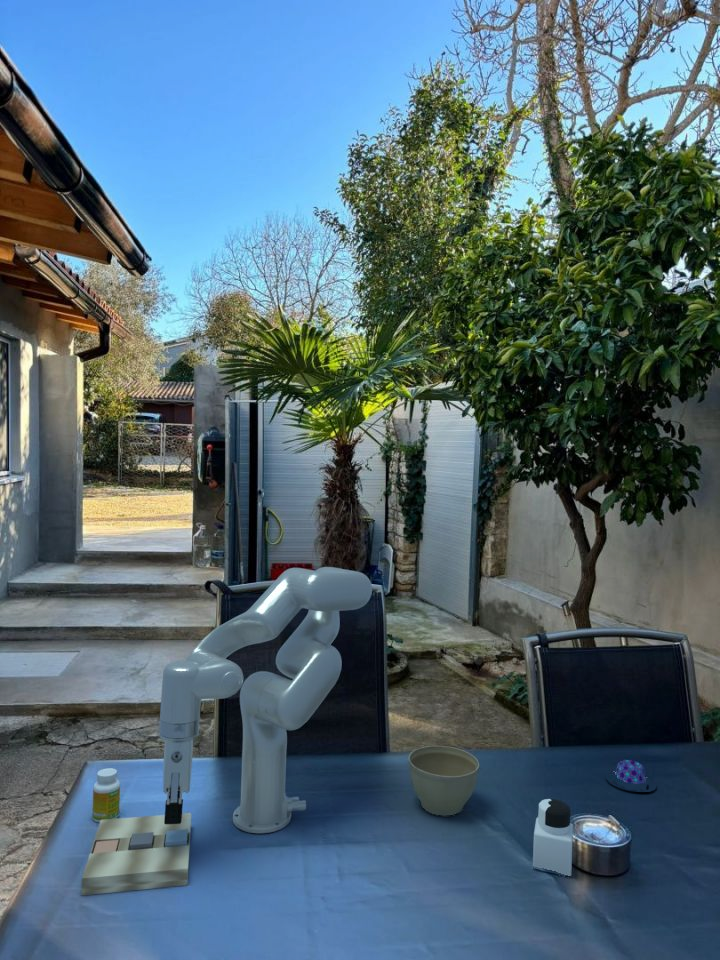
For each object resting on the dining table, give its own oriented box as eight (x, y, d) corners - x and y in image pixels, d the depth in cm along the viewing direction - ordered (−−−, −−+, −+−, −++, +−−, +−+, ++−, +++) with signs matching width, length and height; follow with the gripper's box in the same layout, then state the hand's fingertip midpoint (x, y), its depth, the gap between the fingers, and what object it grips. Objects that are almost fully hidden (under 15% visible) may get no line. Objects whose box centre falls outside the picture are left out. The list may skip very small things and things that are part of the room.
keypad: (190, 827, 138) (191, 812, 138) (187, 885, 119) (188, 868, 119) (100, 834, 134) (100, 819, 134) (81, 895, 115) (81, 878, 115)
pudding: (663, 798, 159) (663, 776, 159) (611, 793, 161) (612, 772, 161) (647, 776, 171) (648, 756, 171) (600, 772, 173) (600, 752, 173)
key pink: (118, 847, 127) (118, 839, 127) (115, 859, 123) (115, 851, 123) (96, 849, 126) (96, 841, 126) (92, 861, 122) (93, 853, 122)
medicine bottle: (571, 858, 131) (573, 799, 131) (571, 878, 125) (573, 815, 125) (535, 850, 134) (537, 792, 134) (532, 870, 127) (534, 808, 127)
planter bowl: (397, 815, 146) (399, 766, 146) (418, 785, 161) (420, 740, 161) (468, 832, 140) (470, 781, 140) (483, 799, 155) (485, 753, 155)
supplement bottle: (109, 825, 138) (111, 779, 138) (86, 821, 139) (88, 775, 139) (123, 812, 143) (125, 768, 143) (101, 809, 144) (103, 765, 144)
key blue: (187, 836, 130) (187, 829, 130) (186, 848, 126) (186, 840, 126) (166, 838, 129) (166, 831, 129) (165, 849, 125) (165, 842, 125)
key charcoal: (153, 839, 129) (153, 832, 129) (151, 851, 125) (151, 843, 125) (131, 841, 128) (132, 833, 128) (129, 853, 124) (129, 845, 124)
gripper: (198, 741, 121) (191, 841, 121) (199, 713, 136) (193, 803, 135) (156, 742, 119) (149, 843, 119) (162, 714, 134) (156, 804, 134)
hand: (172, 821), depth 127 cm, fingers closed
